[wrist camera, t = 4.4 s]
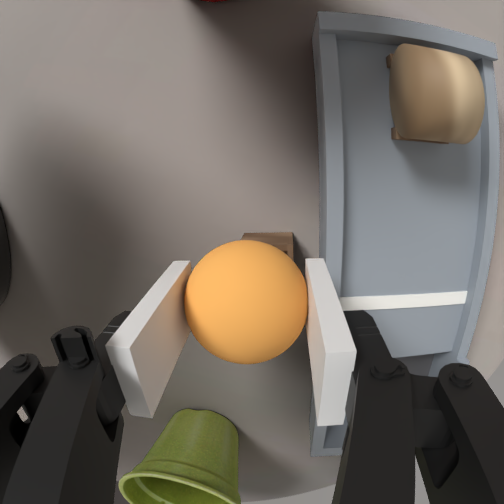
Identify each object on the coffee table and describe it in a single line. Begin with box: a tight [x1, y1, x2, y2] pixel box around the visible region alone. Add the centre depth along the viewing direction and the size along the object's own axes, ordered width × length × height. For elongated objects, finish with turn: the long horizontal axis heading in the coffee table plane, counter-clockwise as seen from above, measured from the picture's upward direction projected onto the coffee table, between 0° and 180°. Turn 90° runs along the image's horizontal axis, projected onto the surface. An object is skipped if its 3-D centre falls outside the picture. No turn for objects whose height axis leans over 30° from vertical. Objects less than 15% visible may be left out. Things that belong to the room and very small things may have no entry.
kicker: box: [386, 43, 485, 144], centre depth 11 cm, size 3×4×4 cm
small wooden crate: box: [241, 232, 293, 261], centre depth 18 cm, size 3×3×3 cm
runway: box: [309, 11, 500, 457], centre depth 17 cm, size 10×27×4 cm, turn 2°
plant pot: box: [119, 409, 241, 504], centre depth 21 cm, size 9×9×9 cm
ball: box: [184, 240, 308, 364], centre depth 13 cm, size 5×5×5 cm
